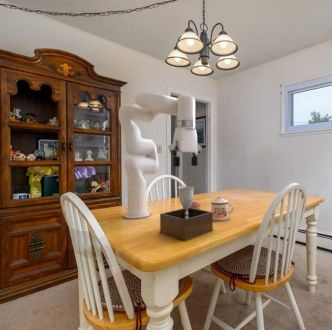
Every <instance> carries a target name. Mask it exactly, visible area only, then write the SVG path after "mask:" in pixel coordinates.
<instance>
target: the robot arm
mask: <svg viewBox="0 0 332 330" xmlns="http://www.w3.org/2000/svg"><path fill="white" fill-rule="evenodd" d="M134 101H135V104H134V103H123V104H122V105H120V107H119V108H118V120H119V124H120V126H121V128H122V131H123V139H124V140H123V141H124V145H125V152H126V153H127V154H128V155H129V156H134V157H129V158H127V160H126V161H125V163H124V169H125V174H126V183H127V185H126V186H127V187H126V188H127V189H126V191H127V207H126V211H127V212H126V213H124V218H126V219H130V220H131V219H143V218H146V217H148V216H150V215H151V213H150V211H148V197H147V196H148V194H147V193H148V192H147V185H148V184H147V180H146V179H145V177H144V176H146V175H155V174H157V173H158V172H159V168H160V165H159V156H158V150H157V146H156V143H155V142H154V140H152V139H150V138H142V134H141V129H140V127H139V126H138V125H137V123H135V122H141V123H152V122H153V121H154V120H155V119H156V118H157V117H158V116H159V114H162V115H169V116H173V117H174V116H175V117H176V127H175V129H174V134H173V141H172V143H170V144H169V145H168V146H167V148H168V150H169V153H170V154H171V156H172V157H173V167H178V168H179V167H180V166H181V157H180V155H181V153H190V154H191V157H190V158H191V161H190V162H191V164H190V165H191V166H192V167H198V158H199V156H200V154H201V151H202V149H203V148H202V146H201V145H199V143H198V134H197V129H196V128H197V124H196V98H195V97H194V96H193V95H189V94H180V95H179V96H177V97H173V96H169V95H164V94H160V93H155V92H150V91H143V90H142V91H139V92H137V93H136V95H135V96H134ZM135 156H137V157H135ZM138 156H139V157H138Z"/></svg>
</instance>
